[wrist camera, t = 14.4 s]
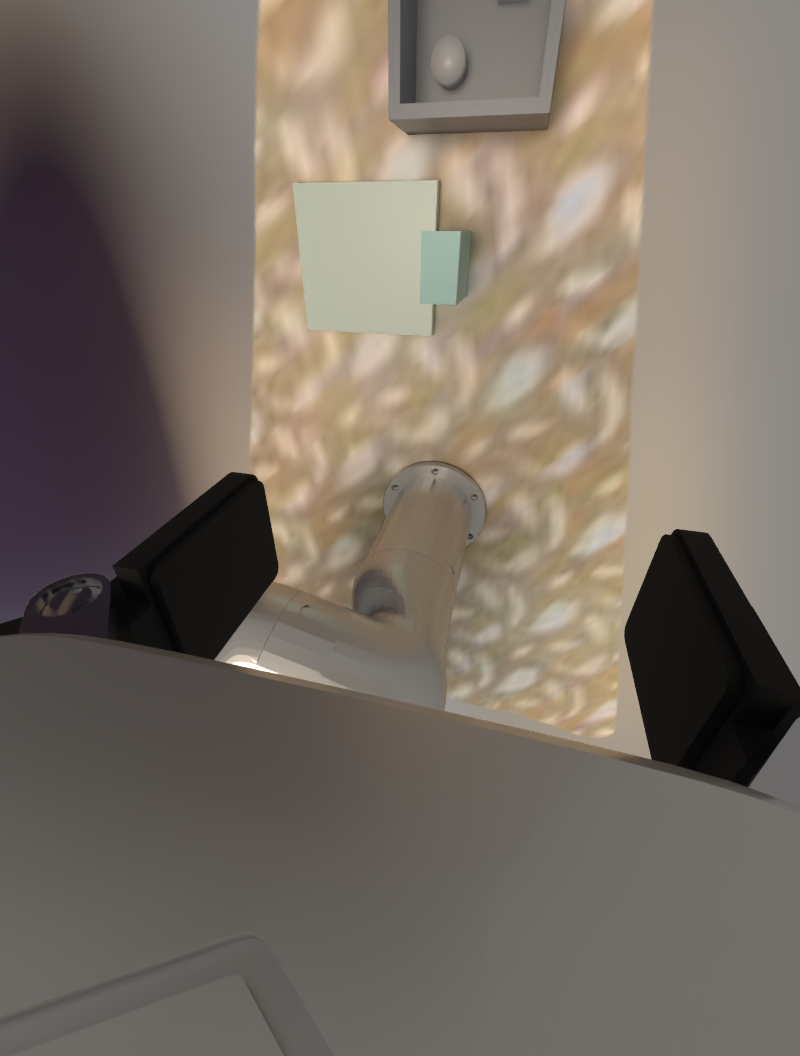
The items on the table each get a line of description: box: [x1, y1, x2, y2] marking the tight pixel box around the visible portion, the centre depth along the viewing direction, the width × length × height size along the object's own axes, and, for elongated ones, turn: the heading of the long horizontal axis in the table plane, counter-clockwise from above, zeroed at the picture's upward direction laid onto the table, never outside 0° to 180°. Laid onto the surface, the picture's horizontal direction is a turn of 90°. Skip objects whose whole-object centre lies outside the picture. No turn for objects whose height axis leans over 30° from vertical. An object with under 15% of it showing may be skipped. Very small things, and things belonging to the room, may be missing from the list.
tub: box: [388, 0, 566, 135], centre depth 30 cm, size 12×11×6 cm
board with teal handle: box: [293, 180, 472, 336], centre depth 39 cm, size 16×12×7 cm
